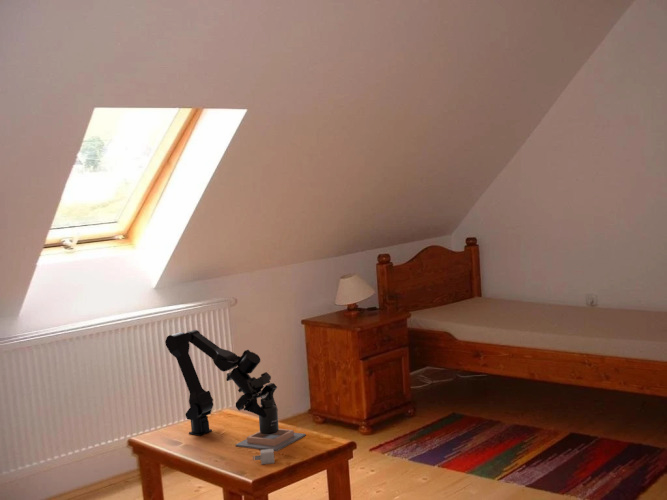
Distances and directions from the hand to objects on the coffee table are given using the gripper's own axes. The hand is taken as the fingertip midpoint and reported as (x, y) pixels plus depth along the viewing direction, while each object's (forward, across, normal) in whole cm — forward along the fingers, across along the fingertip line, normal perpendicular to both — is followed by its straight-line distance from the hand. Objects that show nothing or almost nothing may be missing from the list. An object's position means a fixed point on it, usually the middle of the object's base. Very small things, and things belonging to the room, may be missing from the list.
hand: (271, 414), depth 284 cm
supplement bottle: (+4, 0, +6) cm, 7 cm away
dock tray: (+6, 0, +8) cm, 10 cm away
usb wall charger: (+15, -20, 0) cm, 25 cm away
